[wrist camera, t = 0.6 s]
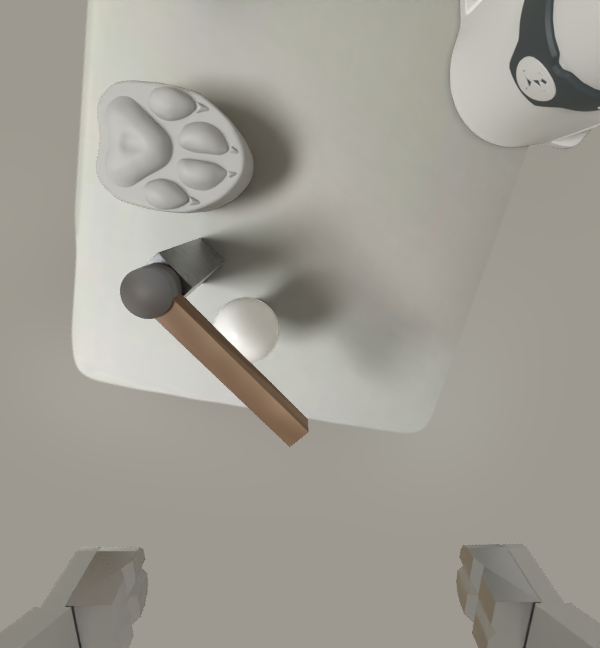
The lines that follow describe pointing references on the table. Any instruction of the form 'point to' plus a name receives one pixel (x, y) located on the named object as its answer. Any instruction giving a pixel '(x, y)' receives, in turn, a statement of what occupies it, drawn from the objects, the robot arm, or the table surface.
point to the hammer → (209, 347)
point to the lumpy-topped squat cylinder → (169, 149)
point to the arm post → (190, 263)
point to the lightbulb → (248, 327)
